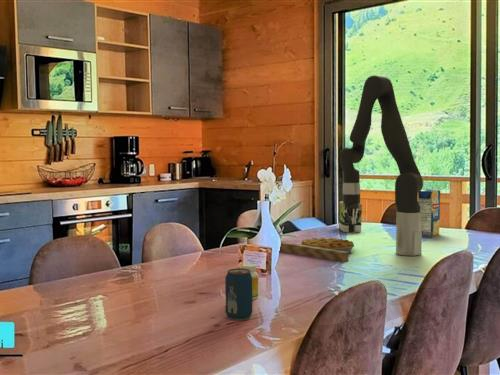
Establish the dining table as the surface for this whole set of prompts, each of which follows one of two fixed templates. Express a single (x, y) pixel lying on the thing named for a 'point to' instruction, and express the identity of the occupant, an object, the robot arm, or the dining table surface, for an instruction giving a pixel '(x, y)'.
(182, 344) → the dining table surface
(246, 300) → the soda can
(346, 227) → the tea box
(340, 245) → the pie
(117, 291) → the dining table surface
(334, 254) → the walnut board
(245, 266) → the supplement bottle
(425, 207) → the beverage box
